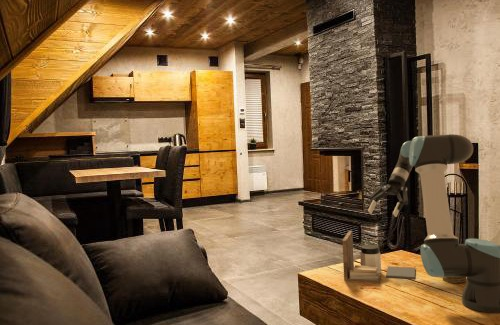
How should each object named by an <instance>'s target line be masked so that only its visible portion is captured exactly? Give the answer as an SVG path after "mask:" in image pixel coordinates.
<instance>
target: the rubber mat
mask: <svg viewBox="0 0 500 325" xmlns="http://www.w3.org/2000/svg"><path fill="white" fill-rule="evenodd" d="M385 278H393V279H409V280H411V279H412V280H415V279H416V267H412V266H411V267H410V266H409V267H408V266H390V265H388V266H387V269H386V273H385Z"/></svg>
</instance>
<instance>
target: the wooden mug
mask: <svg viewBox="0 0 500 325" xmlns="http://www.w3.org/2000/svg"><path fill="white" fill-rule="evenodd" d="M442 281H444V282H447V283H449V284H464V283H467V277H443V278H442Z"/></svg>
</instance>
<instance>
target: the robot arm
mask: <svg viewBox="0 0 500 325" xmlns="http://www.w3.org/2000/svg"><path fill="white" fill-rule="evenodd" d="M473 153H474V145H473V143H472V141H471V140H470V139H469V138H468V137H465V136H463V135H460V134H450V133H449V134H436V135H432V134H431V135H420V136H415V137H413V138H412V139H411V140H407V141H405V142H404V143H402V146H401V147H400V151H399V156H398V160H397V163H396V165H395V167H394V169H393V171H392V173H391V175H390V177H389V179H388V182H387V184H386V185H384V184H380V186H379V188H378V189H376V191H374V192H373V193H372V194H371V195H370V196H369V197H368V198H369V200H370V202H369V208H367V211H368V213H369V214H370V215H372V214H373V212H374V210H375V208H376V206H377V204H378V203H377V202H379V200H382V199H383V198H384V197H388V196H389V195H390V196H392V195H393V196H396V197H397V199H398V202H397V203H396V206H395V207H394V210H393V211H392V215H393V216H394V217H395V218H397V217H398V214H399V212H400V211H402V209H403V207H404V206H405V205H406V206H407V205H409V197H408V192H409V189H408V187H407V186H406V185H405V184H406V182H407V181H408V178H409V176H410V173H411V171H412V169H413V167H414V168H415V170H414V171H415V172H416V173H418V175H420V176H419V177H420V184H421V192H422V201H423V209H424V214H425V215H424V217H425V221H426V222H425V223H426V232H427V236H426V237H425V239H424V240H423V244H421V246H420V248H419V250H420V251H419V252H420V253H419V254H420V258H421V263H422V266H423V269H424V270H425V272H426V273H427V275H428V276H430V277H433V278H442V279H443V277H466V278H467V281H466V282H465V283H466V284H465V286H464V288H463V289H464V290H463V292H462V294H461V303H462V304H463V305H464V306H465V307H466V308H468V309H470V310H474V311H477V312H482V313H488V314H489V313H492V314H494V313H495V314H496V313H500V244H499V243H496V242H494V241H491V240H486V239H481V238H466V239H465V241H464V243H459V238H458V236H456V235H454V233H453V232H454V231H453V226H452V219H451V213H450V206H449V205H450V204H449V200H448V193H447V184H446V179H445V177H446V176H445V172H446V170H447V169H448V165H455V164H460V163H463V162H465V161H467V160H468V159H470V158H471V156H472V155H473ZM401 191H402V196H401V194H400V193H401Z"/></svg>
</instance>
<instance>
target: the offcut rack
mask: <svg viewBox="0 0 500 325" xmlns="http://www.w3.org/2000/svg"><path fill="white" fill-rule="evenodd" d="M353 238H354V237H353V230H349V231H348V232H347V233H346V234H345V236H344V237H343V239H342V240H341V241H342V259H343V260H342V261H343V262H342V264H343V281H344V282H353V283H354V282H357V283H359V282H360V283H371V284H380V283H381V280H382V276H381V275H380V273H378V272H377V270H378V267H377V266H361V265H356V264H355V263H354V260H355V259H354V241H353V240H354V239H353ZM354 264H355V265H354Z"/></svg>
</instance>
